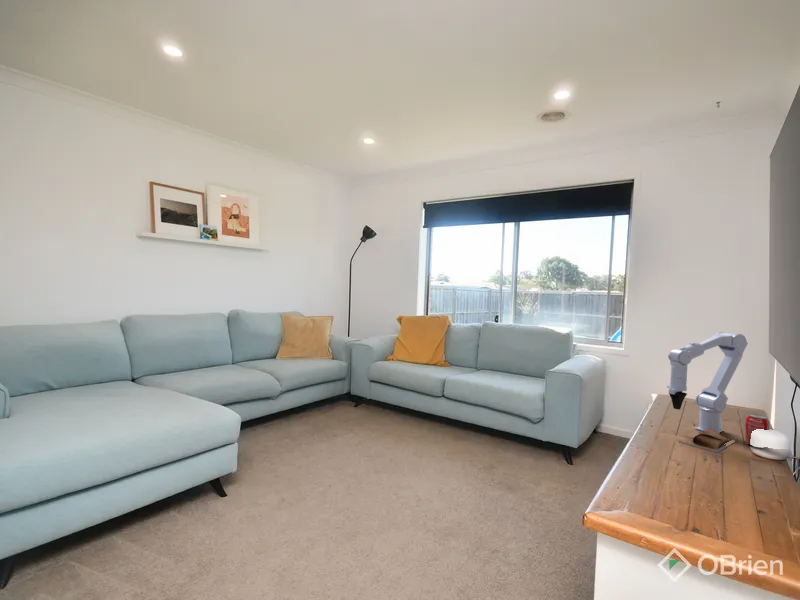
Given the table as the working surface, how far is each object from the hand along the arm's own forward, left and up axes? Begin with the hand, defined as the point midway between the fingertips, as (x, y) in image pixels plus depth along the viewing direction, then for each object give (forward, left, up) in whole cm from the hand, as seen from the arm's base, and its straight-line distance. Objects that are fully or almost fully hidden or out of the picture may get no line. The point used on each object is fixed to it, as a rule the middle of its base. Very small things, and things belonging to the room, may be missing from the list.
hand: (676, 408), depth 174 cm
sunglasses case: (+3, +14, -10) cm, 17 cm away
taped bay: (+4, +12, -9) cm, 16 cm away
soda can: (-8, +25, -10) cm, 28 cm away
